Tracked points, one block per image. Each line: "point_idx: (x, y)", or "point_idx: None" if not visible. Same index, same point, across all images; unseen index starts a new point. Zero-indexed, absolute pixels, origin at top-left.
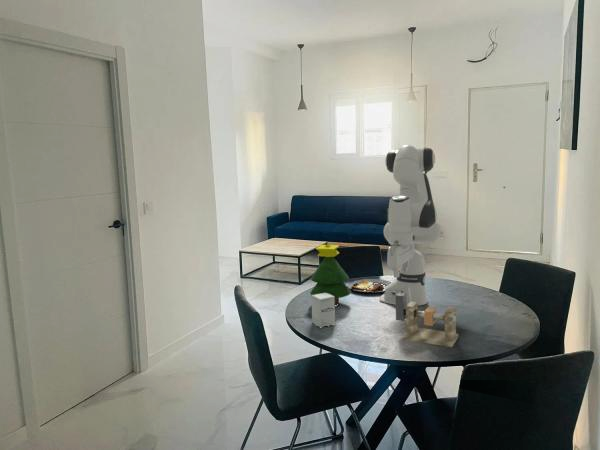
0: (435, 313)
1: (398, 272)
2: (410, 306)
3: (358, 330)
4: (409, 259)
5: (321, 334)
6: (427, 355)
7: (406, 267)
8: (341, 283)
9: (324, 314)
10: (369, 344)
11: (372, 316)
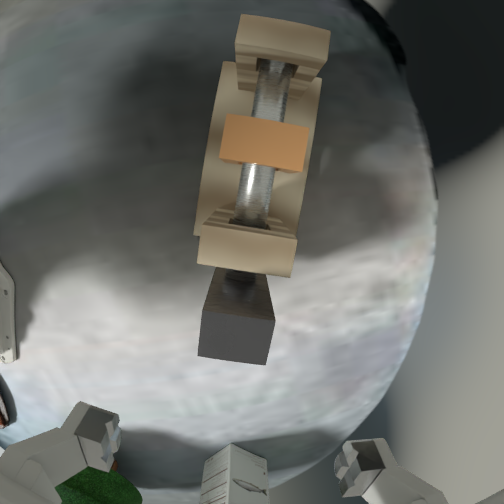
0: (272, 116)
1: (395, 471)
2: (292, 253)
3: (252, 390)
4: (10, 480)
5: (303, 448)
6: (398, 156)
7: (93, 442)
8: (73, 485)
9: (259, 481)
10: (353, 337)
11: (121, 373)
